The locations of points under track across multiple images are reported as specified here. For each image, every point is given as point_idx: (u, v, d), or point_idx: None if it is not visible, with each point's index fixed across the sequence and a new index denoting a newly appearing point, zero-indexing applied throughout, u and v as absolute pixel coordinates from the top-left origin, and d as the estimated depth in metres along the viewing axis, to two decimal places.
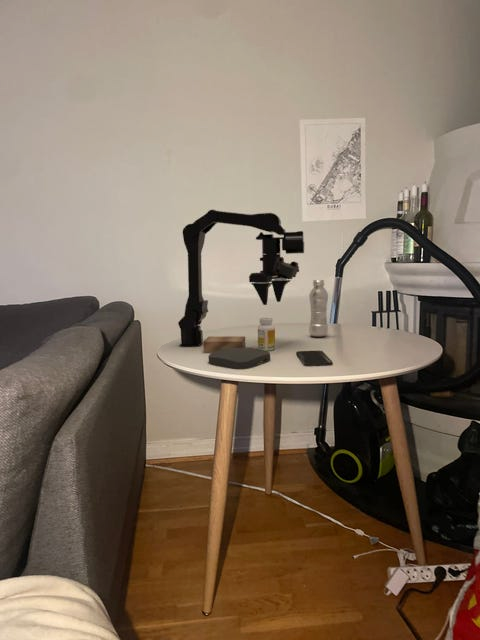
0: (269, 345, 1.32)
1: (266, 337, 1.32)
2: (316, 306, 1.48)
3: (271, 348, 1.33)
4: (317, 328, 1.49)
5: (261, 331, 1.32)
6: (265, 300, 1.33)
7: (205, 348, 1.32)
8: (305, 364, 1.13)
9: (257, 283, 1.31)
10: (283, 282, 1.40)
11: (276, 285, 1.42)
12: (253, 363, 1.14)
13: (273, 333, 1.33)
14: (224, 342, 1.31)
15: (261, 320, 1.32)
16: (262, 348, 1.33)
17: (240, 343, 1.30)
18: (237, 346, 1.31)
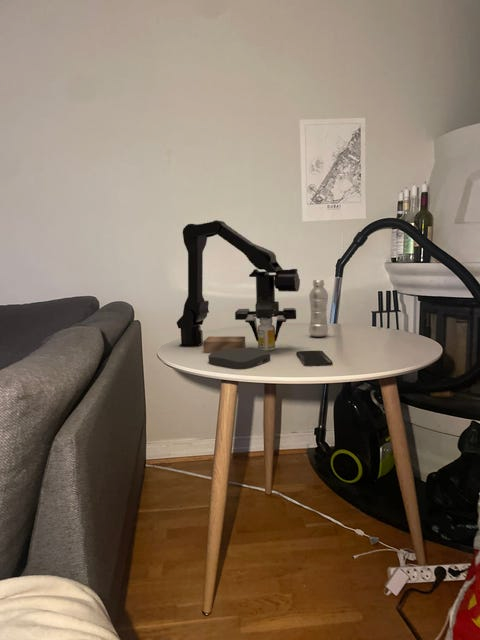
0: (269, 345, 1.32)
1: (266, 337, 1.32)
2: (316, 306, 1.48)
3: (271, 348, 1.33)
4: (317, 328, 1.49)
5: (261, 331, 1.32)
6: (255, 336, 1.34)
7: (205, 348, 1.32)
8: (305, 364, 1.13)
9: None
10: None
11: None
12: (253, 363, 1.14)
13: (273, 333, 1.33)
14: (224, 342, 1.31)
15: (261, 320, 1.32)
16: (262, 348, 1.33)
17: (240, 343, 1.30)
18: (237, 346, 1.31)
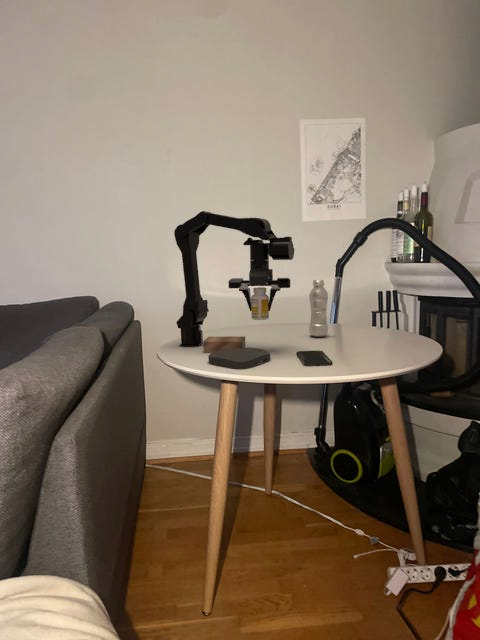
0: (262, 314, 1.31)
1: (259, 306, 1.30)
2: (316, 306, 1.48)
3: (264, 317, 1.31)
4: (317, 328, 1.49)
5: (254, 300, 1.31)
6: None
7: (205, 348, 1.32)
8: (305, 364, 1.13)
9: None
10: (270, 290, 1.30)
11: None
12: (253, 363, 1.14)
13: (267, 302, 1.31)
14: (224, 342, 1.31)
15: (255, 289, 1.31)
16: (255, 317, 1.31)
17: (240, 343, 1.30)
18: (237, 346, 1.31)
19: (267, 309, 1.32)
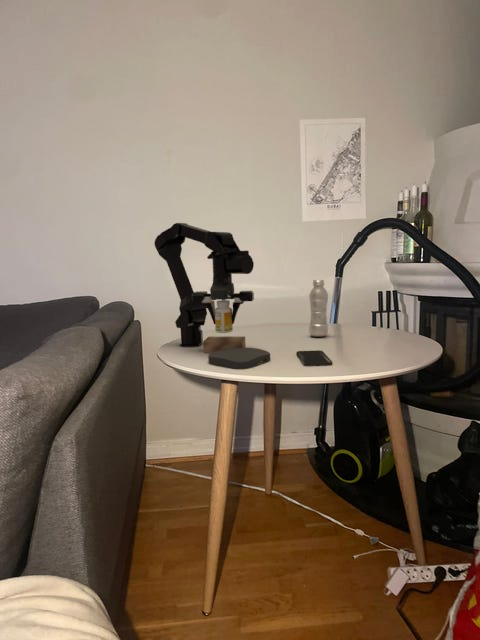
0: (225, 327, 1.32)
1: (222, 319, 1.31)
2: (316, 306, 1.48)
3: (228, 330, 1.32)
4: (317, 328, 1.49)
5: (217, 314, 1.32)
6: (212, 319, 1.34)
7: (205, 348, 1.32)
8: (305, 364, 1.13)
9: None
10: (233, 304, 1.31)
11: None
12: (253, 363, 1.14)
13: (230, 315, 1.32)
14: (224, 342, 1.31)
15: (218, 302, 1.32)
16: (219, 330, 1.32)
17: (240, 343, 1.30)
18: (237, 346, 1.31)
19: (230, 322, 1.33)
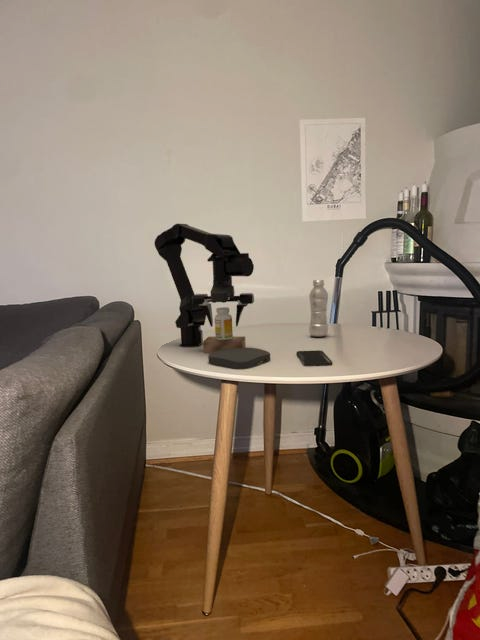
0: (225, 335, 1.32)
1: (222, 326, 1.32)
2: (316, 306, 1.48)
3: (228, 337, 1.32)
4: (317, 328, 1.49)
5: (217, 321, 1.32)
6: (209, 322, 1.34)
7: (205, 348, 1.32)
8: (305, 364, 1.13)
9: None
10: None
11: None
12: (253, 363, 1.14)
13: (230, 322, 1.33)
14: (224, 342, 1.31)
15: (217, 309, 1.32)
16: (219, 337, 1.32)
17: (240, 343, 1.30)
18: (237, 346, 1.31)
19: (230, 329, 1.33)
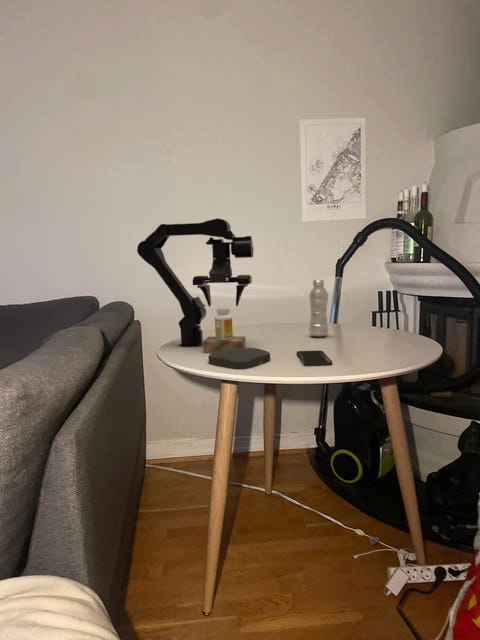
0: (225, 335, 1.32)
1: (222, 326, 1.32)
2: (316, 306, 1.48)
3: (228, 338, 1.32)
4: (317, 328, 1.49)
5: (217, 321, 1.32)
6: None
7: (205, 348, 1.32)
8: (305, 364, 1.13)
9: None
10: None
11: None
12: (253, 363, 1.14)
13: (230, 323, 1.32)
14: (224, 342, 1.31)
15: (218, 310, 1.32)
16: (219, 338, 1.32)
17: (240, 343, 1.30)
18: (237, 346, 1.31)
19: (230, 329, 1.33)
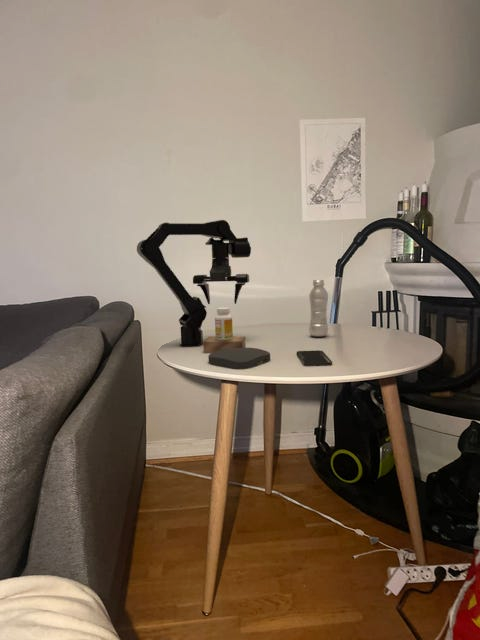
0: (225, 335, 1.32)
1: (222, 326, 1.32)
2: (316, 306, 1.48)
3: (228, 338, 1.32)
4: (317, 328, 1.49)
5: (217, 321, 1.32)
6: (207, 300, 1.48)
7: (205, 348, 1.32)
8: (305, 364, 1.13)
9: None
10: (235, 285, 1.45)
11: None
12: (253, 363, 1.14)
13: (230, 323, 1.32)
14: (224, 342, 1.31)
15: (218, 310, 1.32)
16: (219, 338, 1.32)
17: (240, 343, 1.30)
18: (237, 346, 1.31)
19: (230, 329, 1.33)
